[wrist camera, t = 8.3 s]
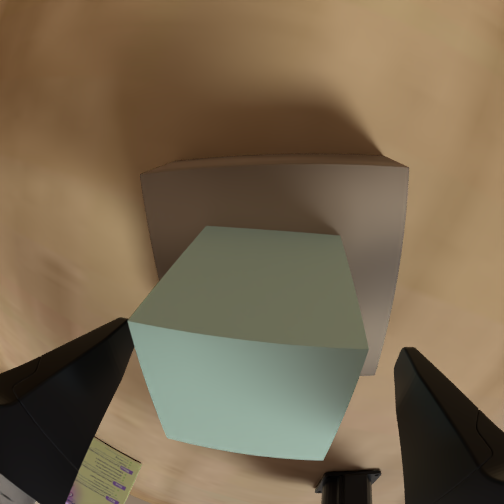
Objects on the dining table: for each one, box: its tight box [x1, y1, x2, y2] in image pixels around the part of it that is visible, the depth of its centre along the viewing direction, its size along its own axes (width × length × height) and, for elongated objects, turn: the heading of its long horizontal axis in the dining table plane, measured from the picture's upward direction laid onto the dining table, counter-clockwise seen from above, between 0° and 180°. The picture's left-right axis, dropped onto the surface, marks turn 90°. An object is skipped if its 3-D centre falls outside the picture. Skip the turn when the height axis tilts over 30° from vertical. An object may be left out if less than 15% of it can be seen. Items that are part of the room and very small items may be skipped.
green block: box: [128, 226, 369, 461], centre depth 9 cm, size 5×5×6 cm
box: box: [65, 437, 142, 504], centre depth 27 cm, size 10×6×12 cm, turn 59°
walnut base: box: [140, 154, 409, 376], centre depth 14 cm, size 10×10×4 cm
